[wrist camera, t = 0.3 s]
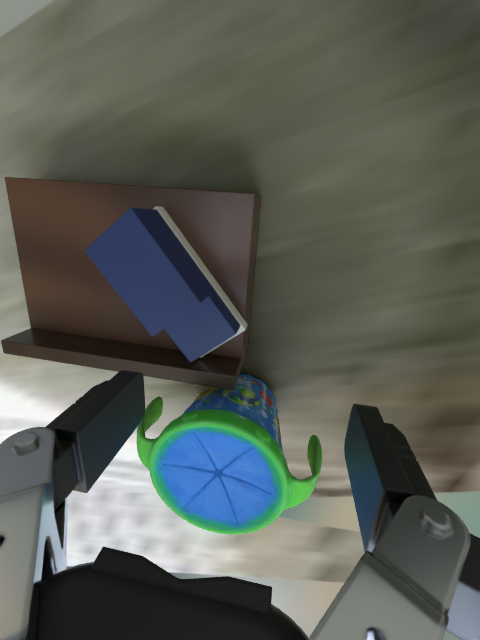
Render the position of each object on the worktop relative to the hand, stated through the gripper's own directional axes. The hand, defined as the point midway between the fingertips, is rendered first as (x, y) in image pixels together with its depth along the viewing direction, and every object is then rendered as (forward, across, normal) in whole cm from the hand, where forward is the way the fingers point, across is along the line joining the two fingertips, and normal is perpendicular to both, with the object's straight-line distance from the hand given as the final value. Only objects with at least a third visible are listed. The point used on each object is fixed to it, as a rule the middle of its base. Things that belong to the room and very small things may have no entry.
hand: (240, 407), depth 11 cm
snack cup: (+17, +2, +12) cm, 20 cm away
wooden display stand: (+17, +12, -2) cm, 20 cm away
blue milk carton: (+13, +7, -1) cm, 14 cm away
